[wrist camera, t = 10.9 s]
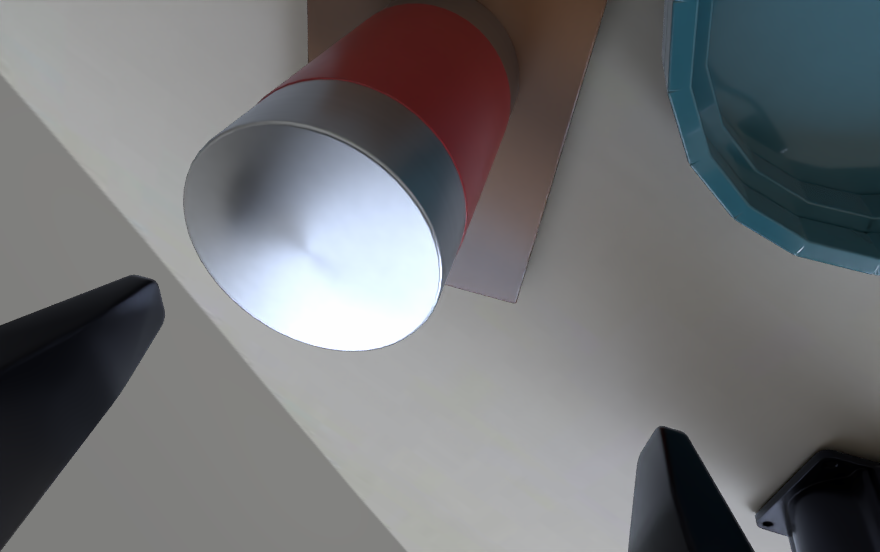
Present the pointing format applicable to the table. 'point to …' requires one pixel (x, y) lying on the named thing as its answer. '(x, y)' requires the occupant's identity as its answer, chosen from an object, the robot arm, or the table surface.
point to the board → (527, 133)
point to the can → (358, 176)
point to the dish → (783, 118)
